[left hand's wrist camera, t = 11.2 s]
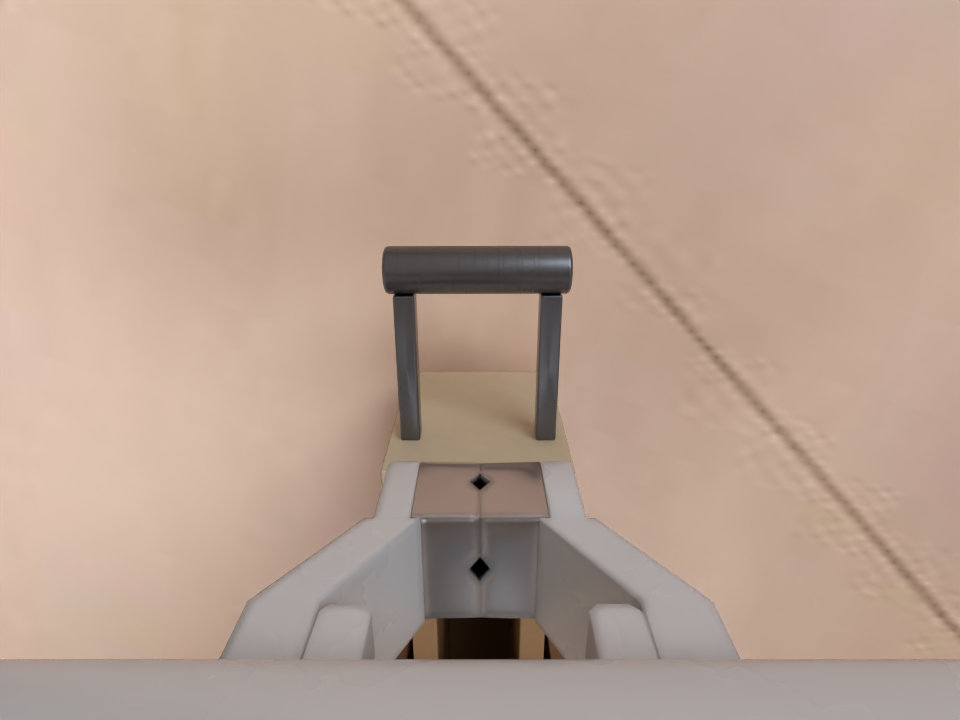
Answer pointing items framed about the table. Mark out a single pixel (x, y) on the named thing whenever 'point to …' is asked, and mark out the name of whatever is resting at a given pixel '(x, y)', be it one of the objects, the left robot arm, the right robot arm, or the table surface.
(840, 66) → the table surface
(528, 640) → the drawer
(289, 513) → the table surface
